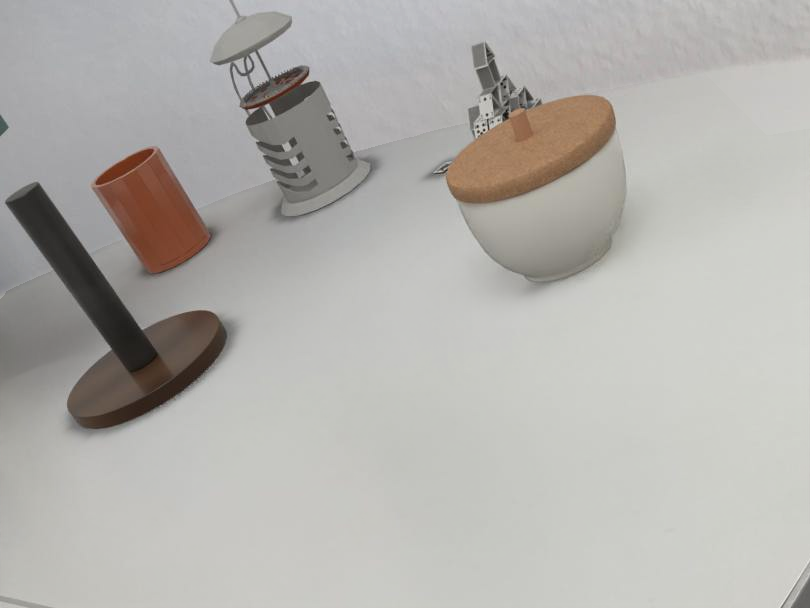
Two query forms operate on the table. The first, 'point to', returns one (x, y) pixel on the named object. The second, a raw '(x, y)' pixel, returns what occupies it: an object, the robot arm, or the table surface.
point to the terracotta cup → (151, 210)
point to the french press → (291, 120)
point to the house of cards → (493, 95)
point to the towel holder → (117, 328)
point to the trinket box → (544, 187)
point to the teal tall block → (3, 125)
